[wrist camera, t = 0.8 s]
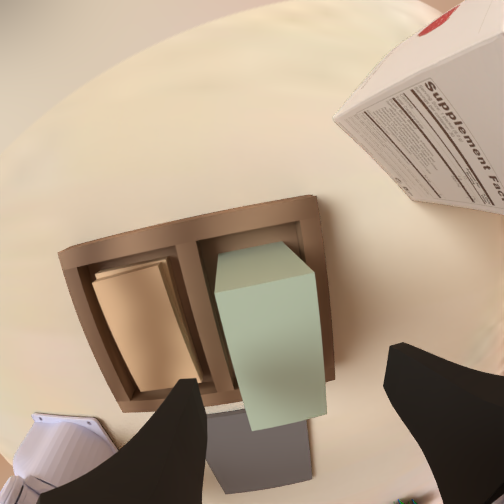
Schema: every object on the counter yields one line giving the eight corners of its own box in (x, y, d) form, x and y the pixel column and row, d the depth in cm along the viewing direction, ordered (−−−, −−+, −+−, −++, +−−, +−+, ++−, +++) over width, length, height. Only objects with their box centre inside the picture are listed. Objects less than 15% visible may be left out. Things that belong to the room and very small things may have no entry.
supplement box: (387, 48, 17) (520, -35, 2) (458, 128, 18) (602, 114, 4) (326, 118, 18) (503, 22, 3) (411, 204, 19) (590, 242, 5)
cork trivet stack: (141, 380, 20) (135, 395, 18) (100, 270, 18) (89, 278, 16) (204, 373, 20) (203, 388, 18) (170, 255, 18) (164, 262, 16)
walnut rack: (127, 395, 21) (120, 412, 18) (71, 246, 18) (55, 253, 16) (328, 362, 21) (337, 378, 19) (308, 194, 19) (319, 195, 16)
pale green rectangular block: (243, 361, 20) (252, 431, 13) (218, 253, 18) (214, 293, 11) (298, 349, 20) (326, 413, 13) (281, 241, 18) (314, 272, 11)
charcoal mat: (225, 491, 25) (225, 494, 24) (186, 416, 22) (186, 420, 21) (311, 476, 25) (312, 479, 25) (302, 396, 22) (303, 400, 22)
